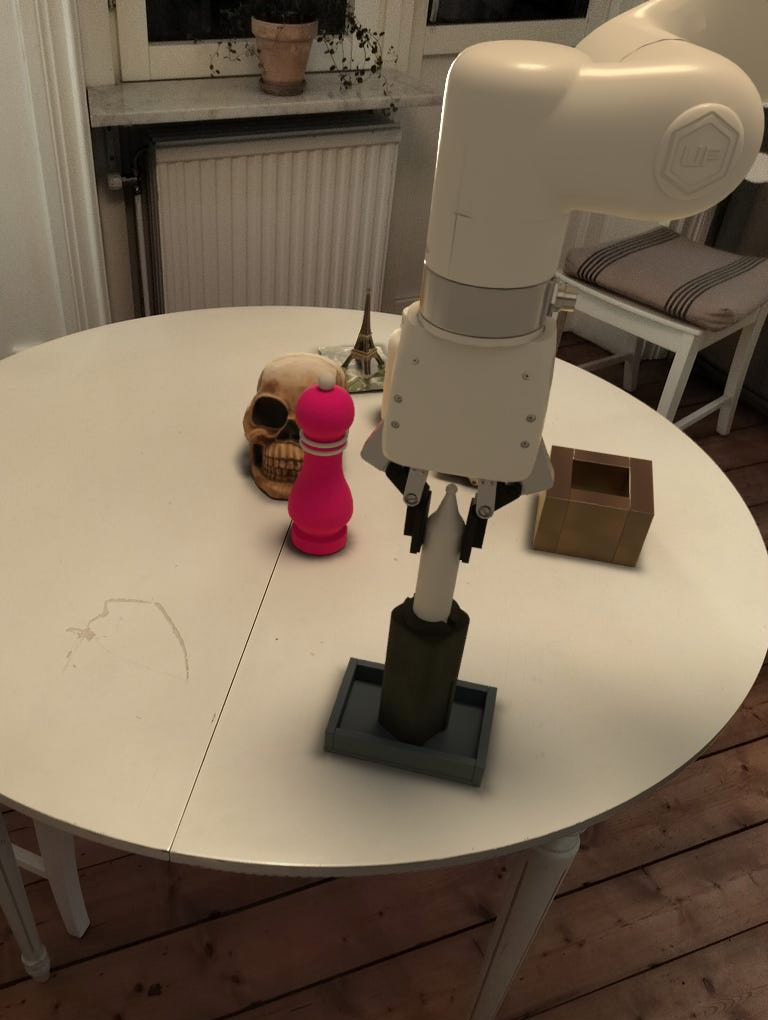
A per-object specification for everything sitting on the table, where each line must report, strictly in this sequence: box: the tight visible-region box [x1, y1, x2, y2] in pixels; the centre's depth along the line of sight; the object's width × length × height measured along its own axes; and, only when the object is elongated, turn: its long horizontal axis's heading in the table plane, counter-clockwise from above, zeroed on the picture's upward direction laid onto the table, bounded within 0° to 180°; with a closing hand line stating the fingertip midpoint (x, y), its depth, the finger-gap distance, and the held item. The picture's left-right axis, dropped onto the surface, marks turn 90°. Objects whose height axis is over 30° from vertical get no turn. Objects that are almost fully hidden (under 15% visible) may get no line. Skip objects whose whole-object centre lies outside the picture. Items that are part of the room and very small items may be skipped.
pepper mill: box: [287, 372, 356, 556], centre depth 91 cm, size 7×7×20 cm
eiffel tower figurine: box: [318, 279, 387, 393], centre depth 124 cm, size 15×10×13 cm
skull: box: [242, 351, 350, 500], centre depth 107 cm, size 16×17×13 cm
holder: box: [531, 444, 655, 568], centre depth 97 cm, size 11×11×7 cm
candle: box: [378, 482, 471, 747], centre depth 68 cm, size 5×5×25 cm
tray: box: [323, 656, 498, 788], centre depth 76 cm, size 14×10×2 cm
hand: (442, 545), depth 63 cm, fingers closed on candle, 3 cm apart
